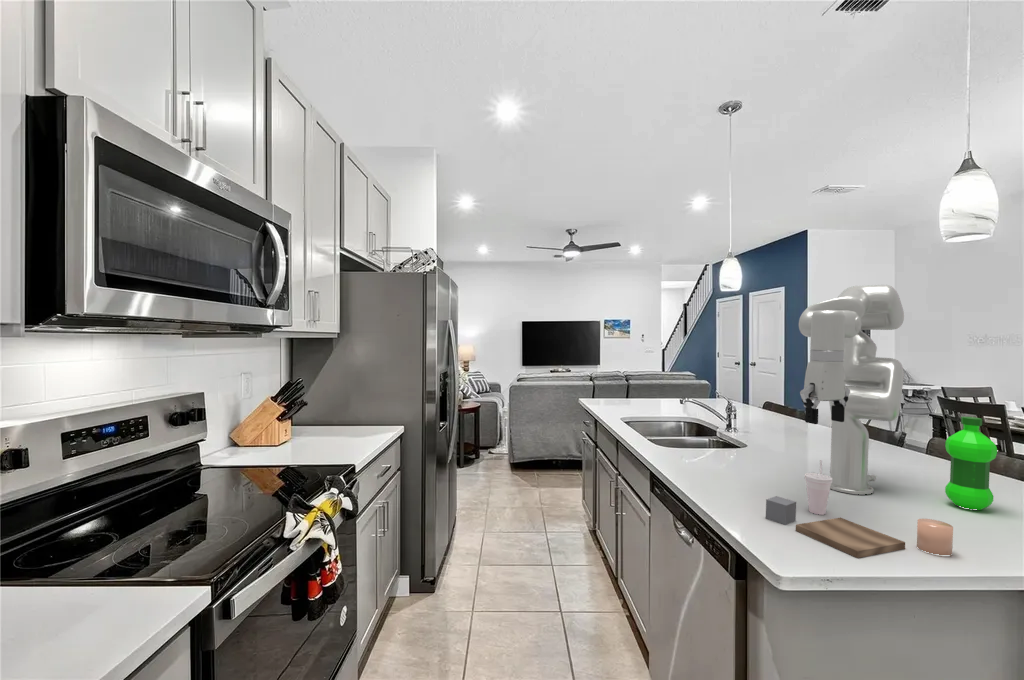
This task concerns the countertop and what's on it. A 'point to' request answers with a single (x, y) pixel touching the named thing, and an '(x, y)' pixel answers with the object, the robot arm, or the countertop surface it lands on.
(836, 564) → the countertop surface
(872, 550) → the walnut board
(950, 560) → the countertop surface
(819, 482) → the smoothie
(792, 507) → the rubber block
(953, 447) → the plastic bottle
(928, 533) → the peach rounded cylinder
